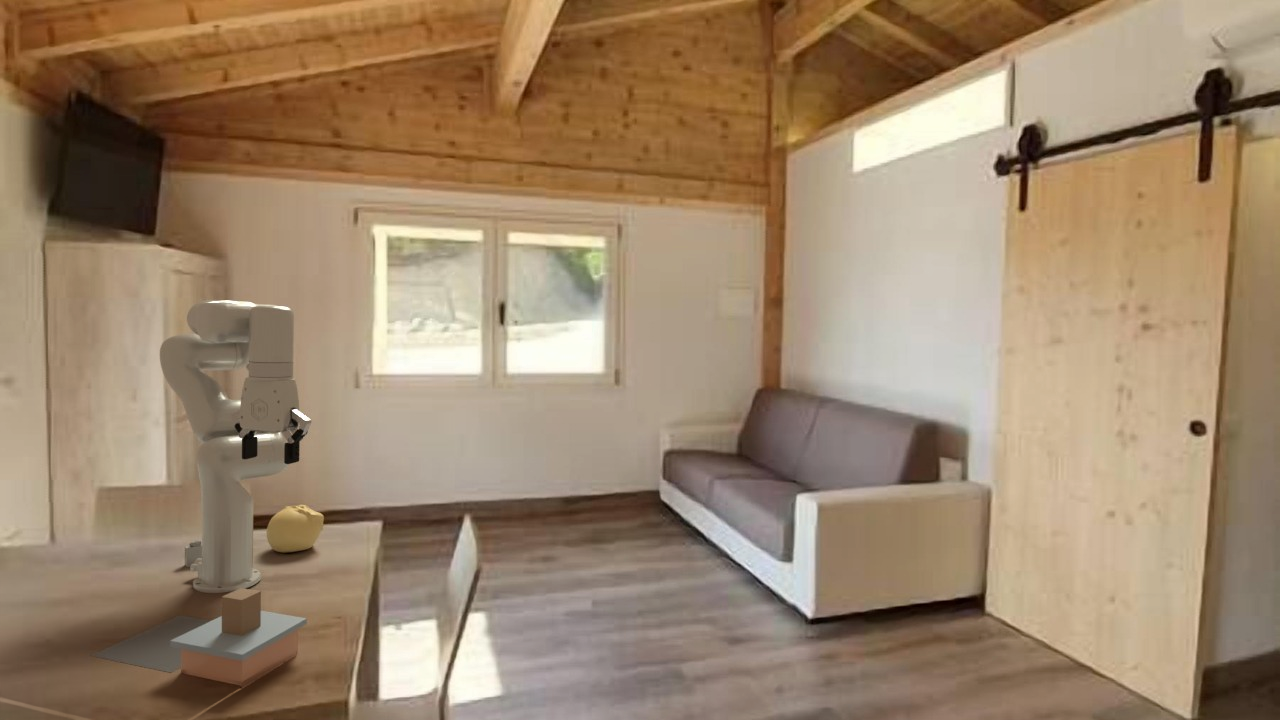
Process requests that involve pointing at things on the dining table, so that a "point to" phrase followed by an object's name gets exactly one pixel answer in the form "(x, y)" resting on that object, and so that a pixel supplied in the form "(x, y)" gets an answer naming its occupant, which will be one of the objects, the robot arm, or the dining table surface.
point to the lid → (239, 628)
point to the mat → (153, 645)
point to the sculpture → (294, 528)
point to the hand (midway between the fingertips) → (270, 460)
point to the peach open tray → (240, 662)
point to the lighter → (193, 552)
